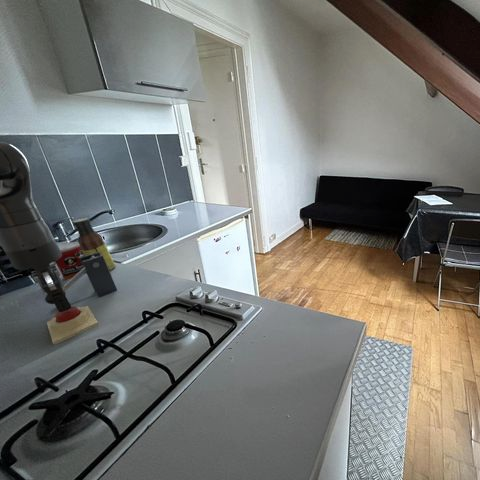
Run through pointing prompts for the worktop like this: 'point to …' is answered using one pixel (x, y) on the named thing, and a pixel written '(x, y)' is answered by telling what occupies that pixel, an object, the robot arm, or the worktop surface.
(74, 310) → the button
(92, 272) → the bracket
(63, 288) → the lever
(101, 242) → the sauce bottle
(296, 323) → the worktop surface
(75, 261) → the canned food
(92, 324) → the button box
